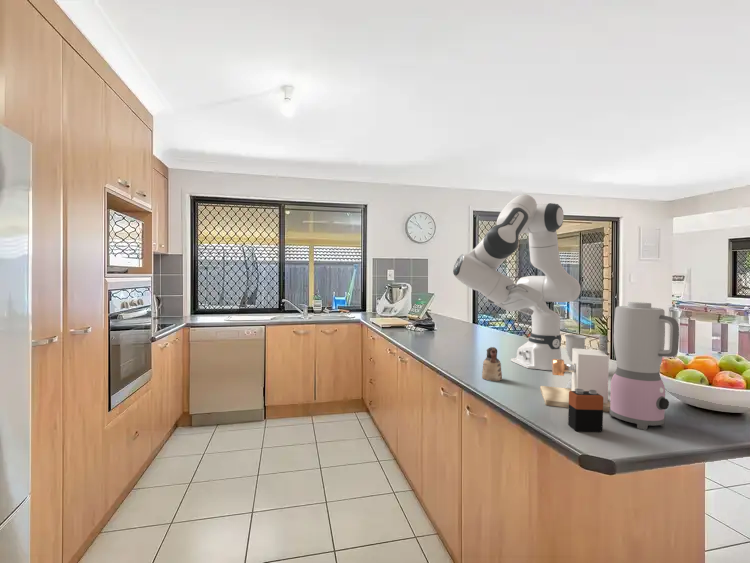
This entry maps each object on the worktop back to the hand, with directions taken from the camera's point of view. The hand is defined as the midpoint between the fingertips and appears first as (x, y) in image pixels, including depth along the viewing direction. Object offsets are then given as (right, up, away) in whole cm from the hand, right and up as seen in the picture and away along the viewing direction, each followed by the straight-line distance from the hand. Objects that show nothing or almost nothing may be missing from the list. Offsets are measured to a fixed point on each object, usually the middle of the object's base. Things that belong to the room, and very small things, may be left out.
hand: (539, 311), depth 120 cm
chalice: (+18, -28, +14) cm, 36 cm away
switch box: (+15, -26, -1) cm, 30 cm away
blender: (+20, -28, -18) cm, 39 cm away
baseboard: (+11, -28, 0) cm, 30 cm away
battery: (+2, -28, -23) cm, 36 cm away
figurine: (-8, -27, +24) cm, 37 cm away
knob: (+9, -20, 0) cm, 22 cm away
